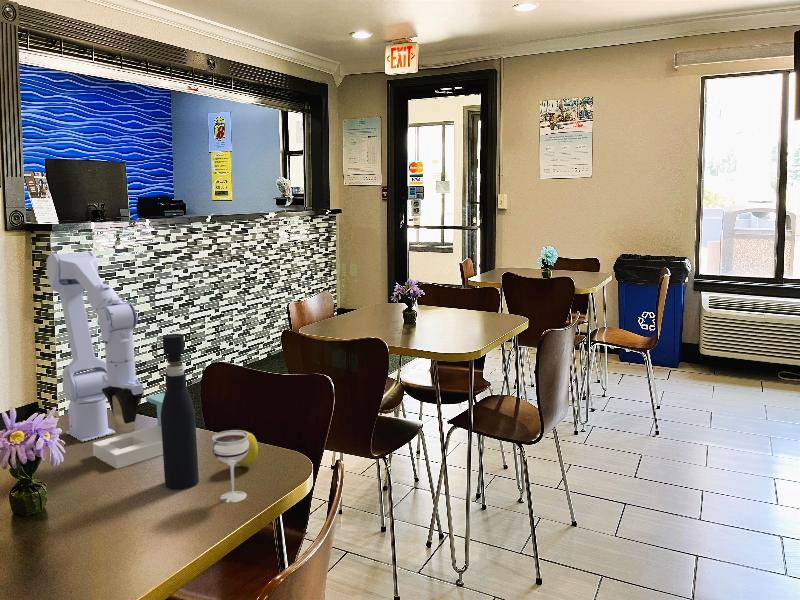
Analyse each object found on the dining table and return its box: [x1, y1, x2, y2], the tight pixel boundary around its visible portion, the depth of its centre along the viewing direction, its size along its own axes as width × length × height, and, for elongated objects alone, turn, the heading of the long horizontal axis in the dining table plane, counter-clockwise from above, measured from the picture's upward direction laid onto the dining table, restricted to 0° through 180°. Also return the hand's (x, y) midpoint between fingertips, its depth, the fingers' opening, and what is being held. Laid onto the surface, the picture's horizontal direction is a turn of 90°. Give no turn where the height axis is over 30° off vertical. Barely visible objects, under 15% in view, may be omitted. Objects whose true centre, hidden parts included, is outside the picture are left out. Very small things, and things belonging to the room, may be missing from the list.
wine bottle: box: [161, 333, 200, 491], centre depth 129 cm, size 6×6×30 cm
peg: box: [112, 395, 136, 435], centre depth 145 cm, size 4×4×8 cm
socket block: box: [92, 392, 165, 470], centre depth 148 cm, size 11×17×10 cm, turn 139°
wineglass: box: [211, 429, 249, 504], centre depth 125 cm, size 7×7×12 cm
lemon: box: [236, 430, 259, 468], centre depth 139 cm, size 6×6×8 cm
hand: (124, 420), depth 145 cm, fingers closed on peg, 4 cm apart
